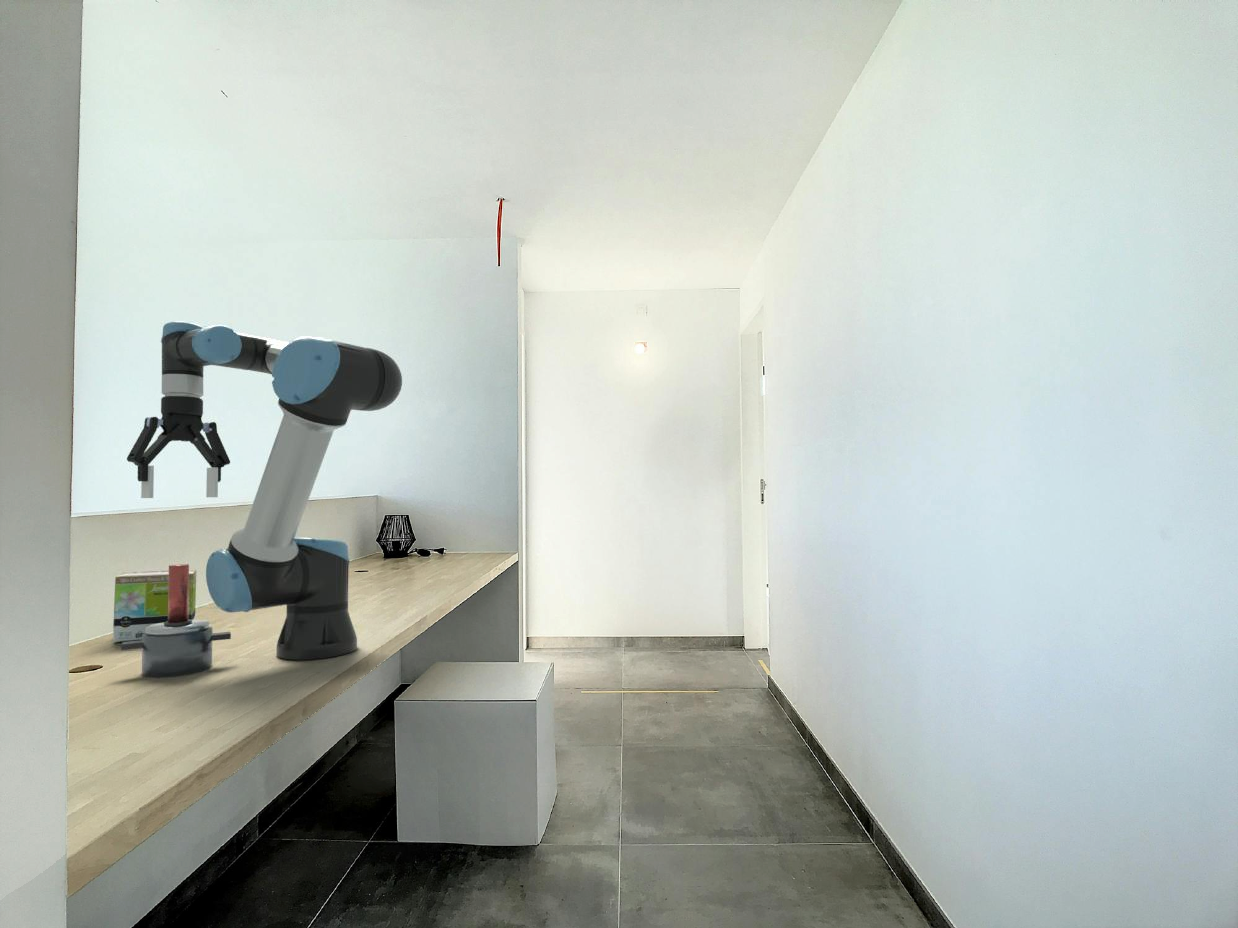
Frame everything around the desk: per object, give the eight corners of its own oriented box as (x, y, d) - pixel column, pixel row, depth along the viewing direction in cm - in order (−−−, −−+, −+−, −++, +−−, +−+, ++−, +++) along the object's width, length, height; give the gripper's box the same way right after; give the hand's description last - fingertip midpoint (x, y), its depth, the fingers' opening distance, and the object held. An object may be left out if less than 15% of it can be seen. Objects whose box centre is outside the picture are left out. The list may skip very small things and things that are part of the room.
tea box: (112, 644, 153) (113, 576, 153) (120, 635, 162) (121, 571, 162) (192, 636, 160) (193, 571, 160) (195, 629, 169) (196, 567, 169)
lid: (221, 626, 134) (221, 562, 135) (184, 636, 124) (185, 568, 125) (172, 625, 135) (172, 562, 136) (131, 636, 125) (132, 568, 126)
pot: (228, 657, 139) (229, 621, 139) (231, 669, 129) (231, 630, 130) (124, 669, 130) (124, 631, 130) (118, 682, 120) (119, 641, 121)
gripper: (226, 404, 160) (225, 497, 159) (107, 390, 138) (105, 498, 137) (248, 402, 157) (247, 496, 156) (130, 388, 135) (128, 498, 134)
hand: (180, 497), depth 147 cm, fingers open, 13 cm apart
